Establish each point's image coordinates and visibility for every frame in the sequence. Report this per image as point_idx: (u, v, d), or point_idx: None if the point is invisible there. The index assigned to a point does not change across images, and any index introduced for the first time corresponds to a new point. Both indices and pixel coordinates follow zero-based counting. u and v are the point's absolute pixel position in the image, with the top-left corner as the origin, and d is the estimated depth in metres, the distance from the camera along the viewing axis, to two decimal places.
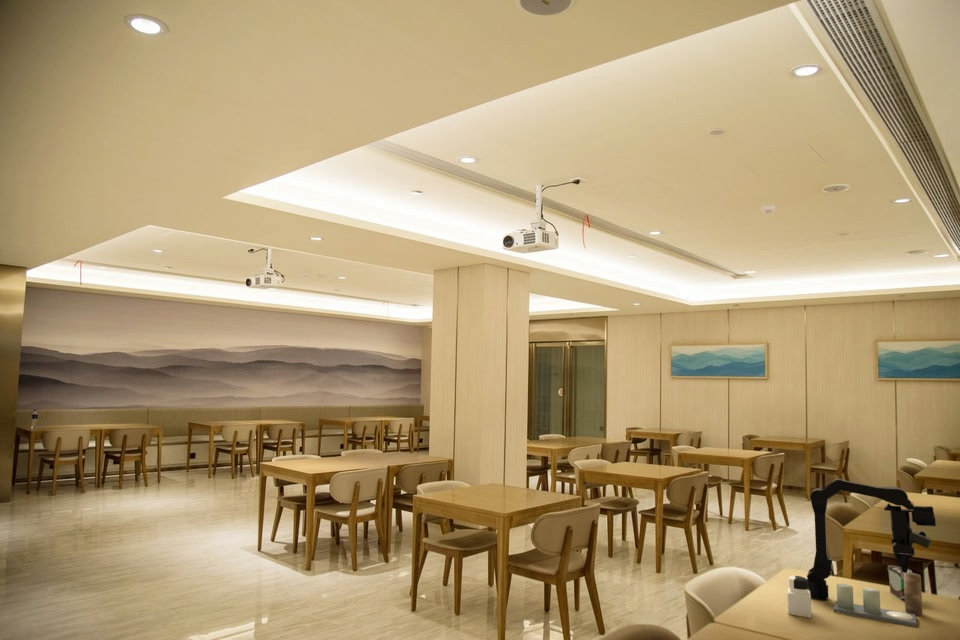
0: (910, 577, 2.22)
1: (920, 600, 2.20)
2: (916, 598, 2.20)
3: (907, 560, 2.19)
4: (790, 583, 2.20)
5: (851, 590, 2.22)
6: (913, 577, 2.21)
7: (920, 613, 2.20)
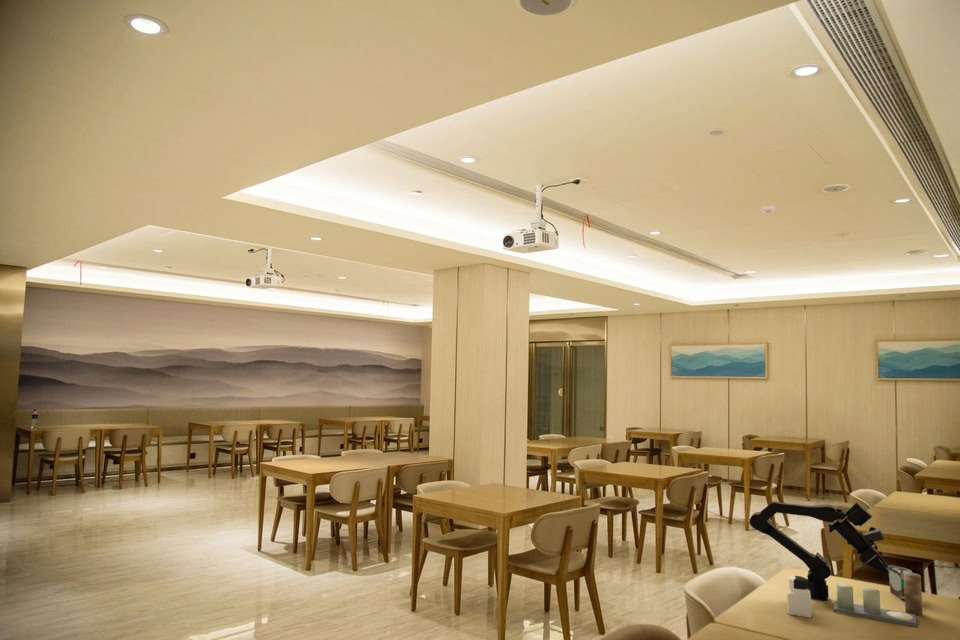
0: (910, 577, 2.22)
1: (920, 600, 2.20)
2: (916, 598, 2.20)
3: (879, 561, 2.23)
4: (790, 583, 2.20)
5: (851, 590, 2.22)
6: (913, 577, 2.21)
7: (920, 613, 2.20)
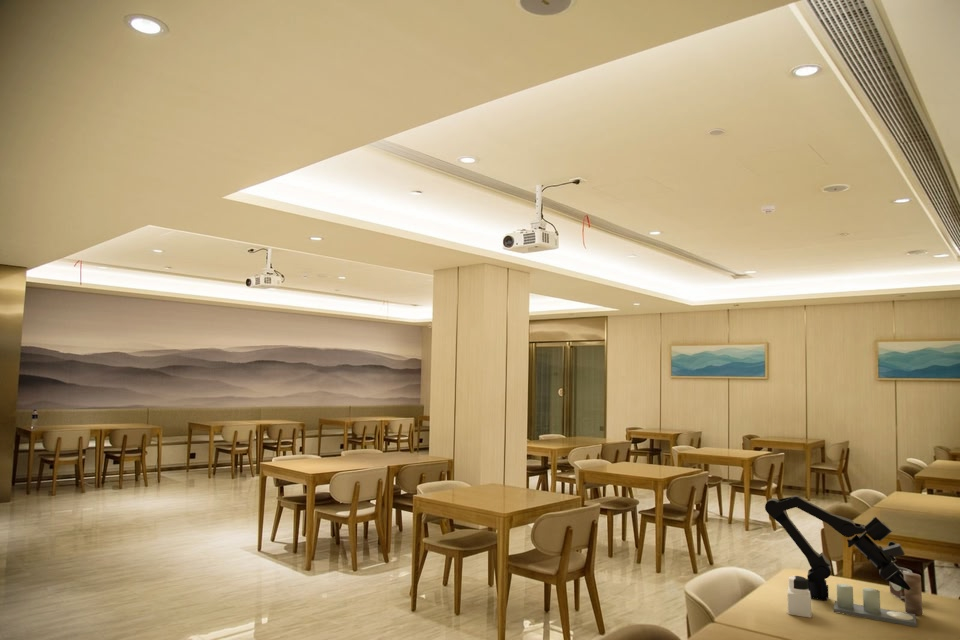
0: (910, 577, 2.22)
1: (920, 600, 2.20)
2: (916, 598, 2.20)
3: (900, 577, 2.20)
4: (790, 583, 2.20)
5: (851, 590, 2.22)
6: (913, 577, 2.21)
7: (920, 613, 2.20)
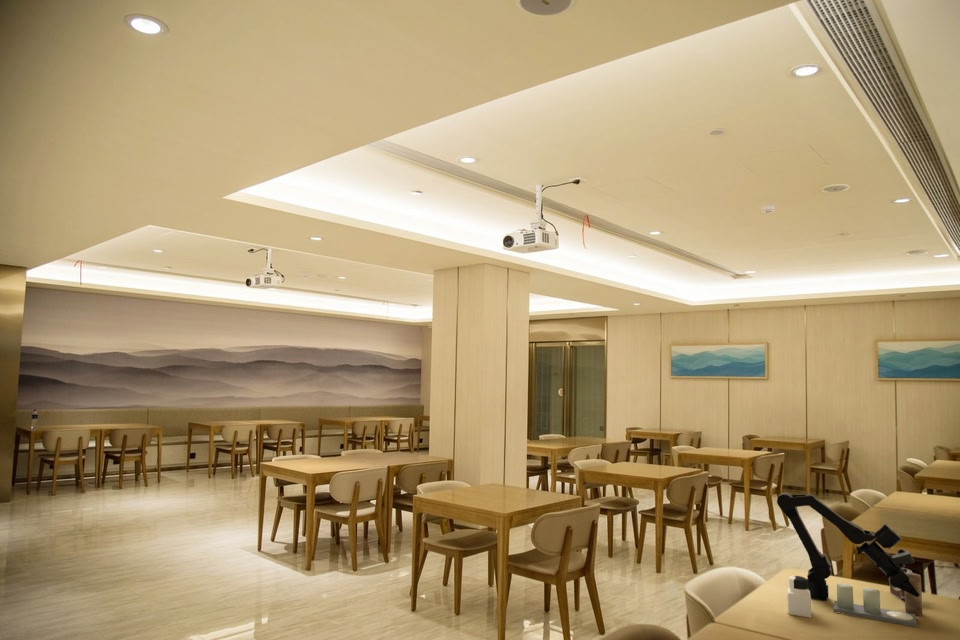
0: (910, 577, 2.22)
1: (920, 600, 2.20)
2: (916, 598, 2.20)
3: (909, 584, 2.20)
4: (790, 583, 2.20)
5: (851, 590, 2.22)
6: (913, 577, 2.21)
7: (920, 613, 2.20)
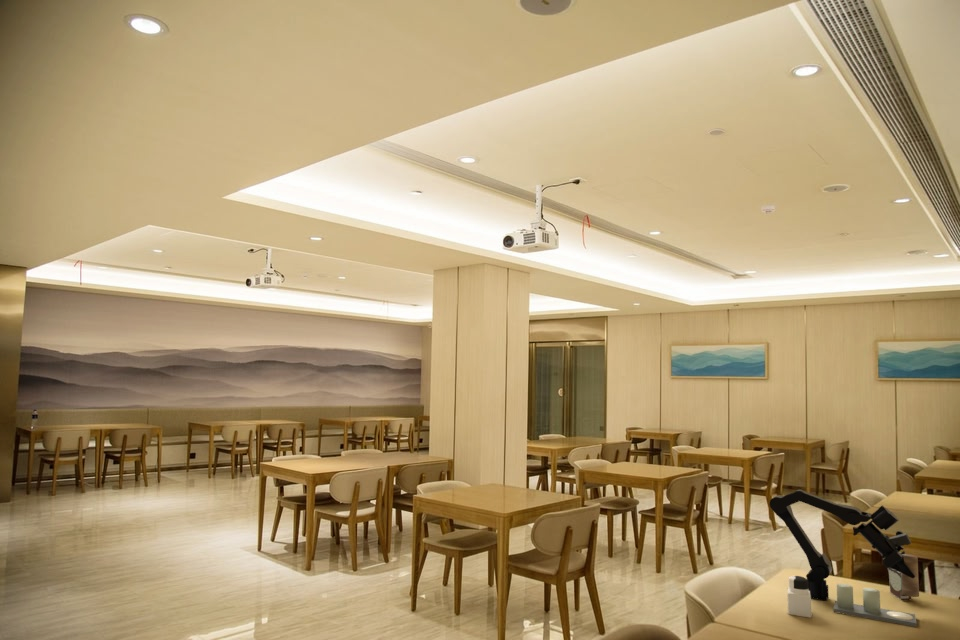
0: (906, 558, 2.20)
1: (916, 582, 2.19)
2: (912, 579, 2.19)
3: (904, 565, 2.19)
4: (790, 583, 2.20)
5: (851, 590, 2.22)
6: (909, 558, 2.20)
7: (916, 595, 2.18)
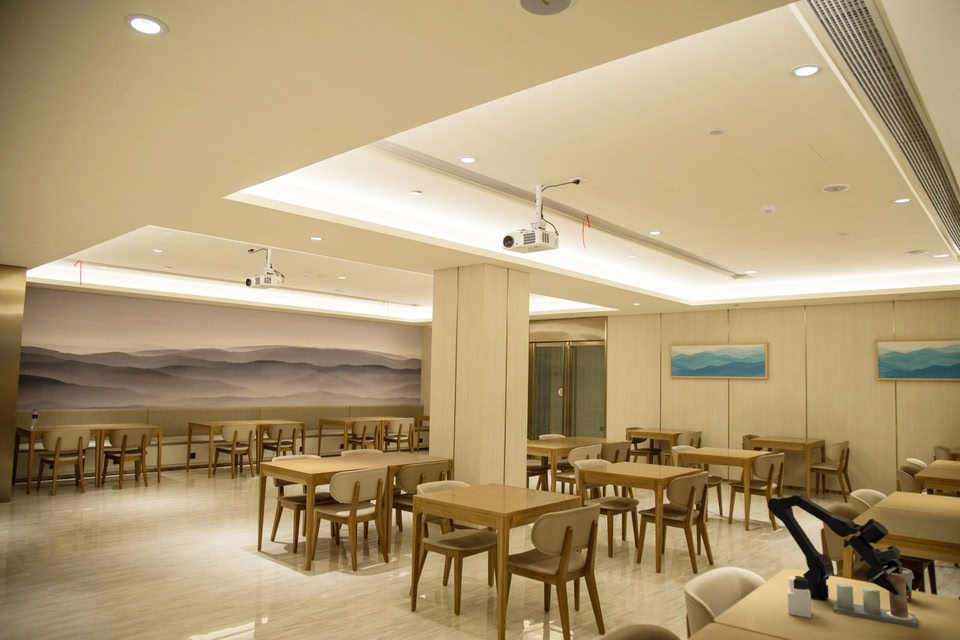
0: (891, 577, 2.16)
1: (903, 602, 2.13)
2: (898, 599, 2.14)
3: (887, 581, 2.14)
4: (790, 583, 2.20)
5: (851, 590, 2.22)
6: (894, 577, 2.15)
7: (903, 615, 2.13)
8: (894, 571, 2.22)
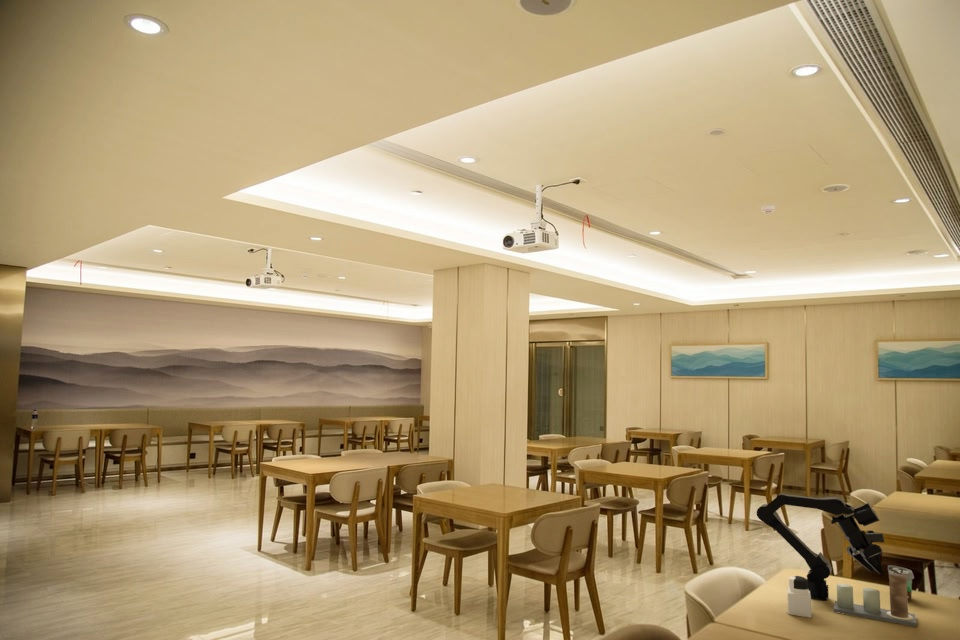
0: (892, 577, 2.16)
1: (903, 602, 2.13)
2: (898, 599, 2.14)
3: (878, 560, 2.23)
4: (790, 583, 2.20)
5: (851, 590, 2.22)
6: (895, 578, 2.15)
7: (903, 615, 2.13)
8: None
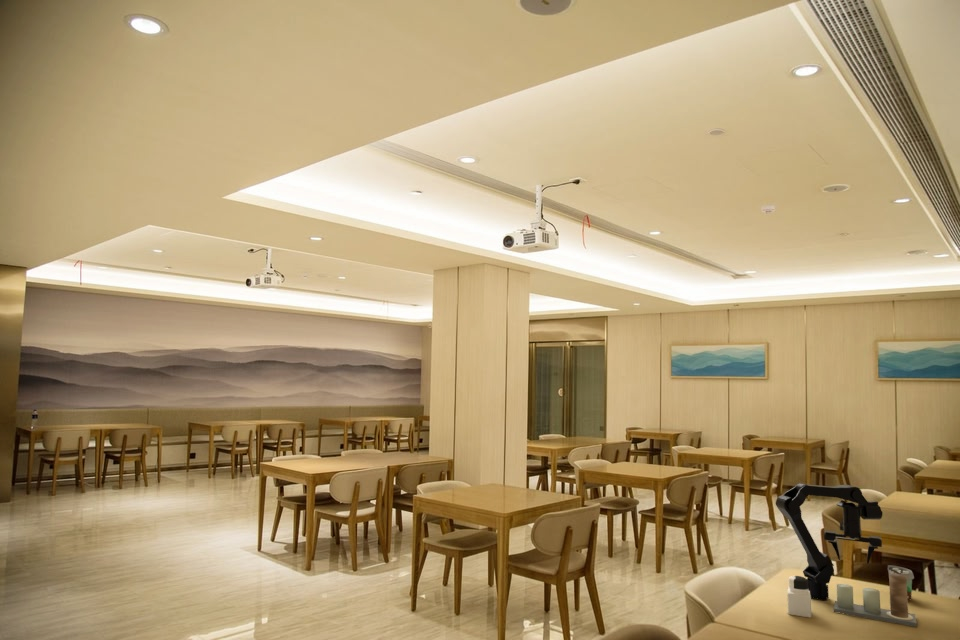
0: (892, 577, 2.16)
1: (903, 602, 2.13)
2: (898, 599, 2.14)
3: None
4: (790, 583, 2.20)
5: (851, 590, 2.22)
6: (895, 578, 2.15)
7: (903, 615, 2.13)
8: (837, 541, 2.43)
